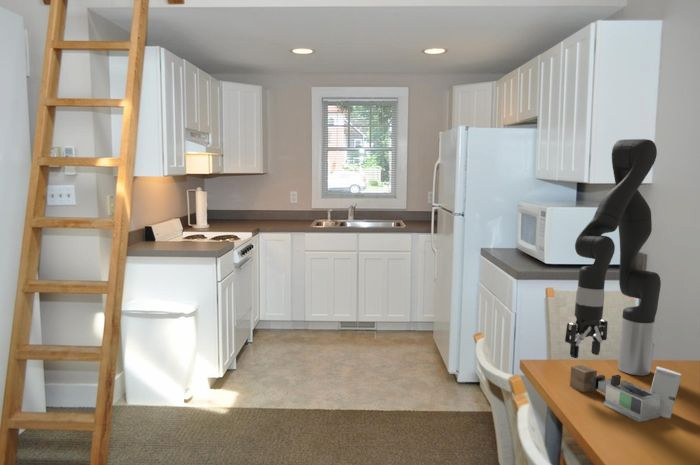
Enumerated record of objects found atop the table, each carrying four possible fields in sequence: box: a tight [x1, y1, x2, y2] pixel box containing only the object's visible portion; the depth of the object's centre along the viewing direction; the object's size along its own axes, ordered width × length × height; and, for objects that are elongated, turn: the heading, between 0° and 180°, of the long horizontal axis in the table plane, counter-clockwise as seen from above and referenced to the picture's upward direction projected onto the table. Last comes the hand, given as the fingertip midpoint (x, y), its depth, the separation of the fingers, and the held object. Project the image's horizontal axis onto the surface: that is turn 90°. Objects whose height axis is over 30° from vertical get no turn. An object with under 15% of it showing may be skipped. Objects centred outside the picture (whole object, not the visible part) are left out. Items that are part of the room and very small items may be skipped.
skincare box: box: [649, 365, 682, 419], centre depth 146 cm, size 6×4×12 cm
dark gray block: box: [611, 374, 622, 386], centre depth 148 cm, size 2×1×3 cm, turn 114°
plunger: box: [592, 374, 630, 395], centre depth 152 cm, size 6×10×6 cm, turn 24°
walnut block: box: [569, 364, 598, 393], centre depth 162 cm, size 5×5×6 cm
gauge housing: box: [603, 380, 661, 423], centre depth 147 cm, size 8×11×6 cm
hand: (584, 355), depth 161 cm, fingers open, 8 cm apart
